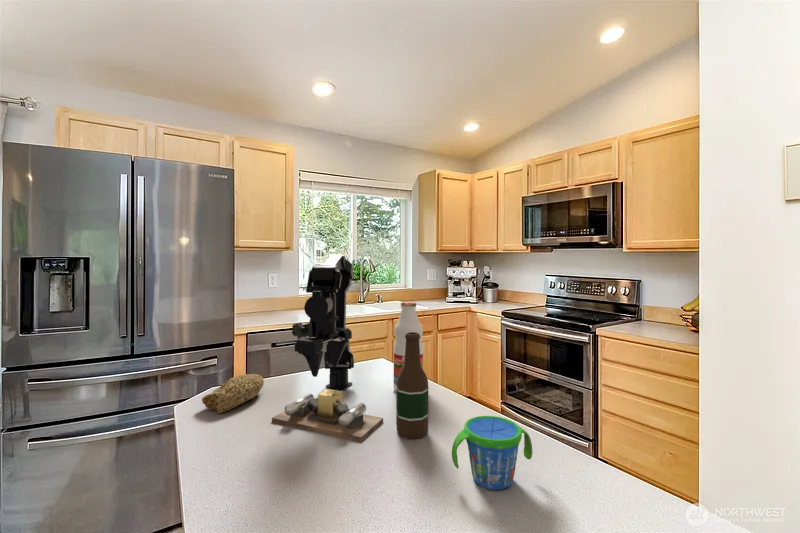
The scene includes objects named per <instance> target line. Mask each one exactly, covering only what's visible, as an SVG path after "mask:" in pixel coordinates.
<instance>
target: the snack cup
mask: <svg viewBox="0 0 800 533" xmlns="http://www.w3.org/2000/svg"><path fill="white" fill-rule="evenodd" d="M522 434H524V436H522ZM522 437H523V440H524V441H523V446H524V447H523V456H524V457H525V459H526V460H532V458H533V444H532V438H531V437H530V434H529V433H528V431H526V430H525V429H524V428H522V427H521V426H520V425H518V424H517V423H515V421H512V420H510V419H508V418H505V417H500V416H494V415H479V416H475V417H471V418H469V419H467V420H466V422H465V423H464V427H463V429H462V430H460V431H459V432H458V433H457V435H456V437H454V441H453V443H452V446H451V447H452V448H451V458H452V459H451V460H452V463H453V464H454V467H456V469H460V468H459V460H458V459H459V458H458V452H457V451H458V448H459V446H460V445H461V444H462V443H463V441H464V440H466V444H467V449H468V457H469V464H470V471H471V475H472V478H473V481H474V482H475V483H477V484H478V485H479V486H481V487H483V488H485V489H489V490H491V491H494V490H495V491H499V490H504V489H507V488H510V487H511V486H512V484H513V481H514V477H515V472H516V467H517V466H516V464H517V459H518V453H519V446H520V444H521V440H522Z"/></svg>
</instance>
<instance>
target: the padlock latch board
mask: <svg viewBox="0 0 800 533" xmlns="http://www.w3.org/2000/svg"><path fill="white" fill-rule="evenodd" d="M350 409H351V408H349V410H350ZM338 419H339V417H338V418H336V419H335V420H331V419H326V418H322V417H318V412H316V413H313V412H311V411H310V410H309V408H308V403H307V404H305V405H304V406H302V407H300V410H299V411H297V412H296V413H294V414H292V415H290V416H288V415H287V414H286V413H285V411H281V412H280V413H278V414H276V415H274V416H273V417H271V422H272V423H277V424H281V425H285V426H290V427H293V428H298V429H303V430H307V431H311V432H317V433H321V434H325V435H330V436H334V437H338V438H343V439H347V440H353V441H356V442H362V441H364V440H365V438H367V437H369V435H370V434H371V433H373V431H374V430H376V429H377V428H378V427H379V426H380V425H382V423H384V417H380V416H376V415H375V416H374V415H370V414H366V413H365V414H364V413H363V414H361V413H360V414H359V415H358V416H356V417H355V418H354V419H353V420H352V422H351V423H350V424H348V425H347V426H346V427H342V426H340V425H339V423H338Z"/></svg>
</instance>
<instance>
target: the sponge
mask: <svg viewBox="0 0 800 533" xmlns="http://www.w3.org/2000/svg"><path fill="white" fill-rule="evenodd" d="M264 383H265V381H264V377H263V376H262V375H260V374H257V373H250V374H249V373H247V374H239V375H236V376H233V377H230V378H229V379H228V380H225V381H224V382H223V383H222V384H220V386H219V387H216V388H215V389H214V390H213V391H212V392H210V393H208V394H206V395H204V396H203V397H202V398H201V403H202V404H203V405H205V408H207V409H208V408H209V409H210V410H212V411H215V412H217V413H218V414H221V413H225V412H227V411H229V410H232V409H234V408H236V407H238V406H240V405H241V404H244V403H245V402H247V401H249V400H251V399H253V398H255V397H256V396H257V395H258V394H260V392H261V390H262V388H263V386H264Z"/></svg>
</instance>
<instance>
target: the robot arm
mask: <svg viewBox="0 0 800 533" xmlns="http://www.w3.org/2000/svg"><path fill="white" fill-rule="evenodd" d="M352 280H354V268H353V264H352V262H350V261H349V260H347V259H346V255H344V254H342V253H341V254H339V253H337V254H336V253H335V254H333V253H332V254H331V253H330V254H328V255H327V259H326V260H325V261H324V263H322V264H314V265H313V266H312V267H311V269H310V270H309V272H308V278H307V284H306V290H305V292H306V293H307V294H308V293H311V297H309V298H307V299H306V300H305V303H304V306H303V309H304V313H305V315H306V316H307V317H308V318H309V322H308V323H305V324H303V323H302V322H297V323H294V324H292V327H291V328H292V329H291V335H292V336H293V337H297V340H295V342H294V346H293V350H294V352H297V353H298V354H299V355H302V356H303V357H304V358H305V360H306V362H307V363H308V367H309V370H310V373H311V375H312V377H314V378H315V377H318V374H319V371H320V367H321V363H322V359H324V369H325V370H329V374H328V375H329V376H328V378H329V381H328V382H329V383H328V384H326V385H325V388H326V389H327V388H328V389H332V390H338V391H343V390H345V389H347V388H348V387H350V386H352V385H353V382H351V381H349V370H352V369H353V368H355V358H354V354H353V352H352V350H351V344H350V339H352V337H353V334H352V330H351V329H350V327H346V323H347V322H346V321H347V319H346V318H347V315H346V314H347V292H348V291H349V289H350V288H351V286H352ZM326 343H327V344H326ZM324 344H326V349H324V351H323V348H324Z"/></svg>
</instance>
